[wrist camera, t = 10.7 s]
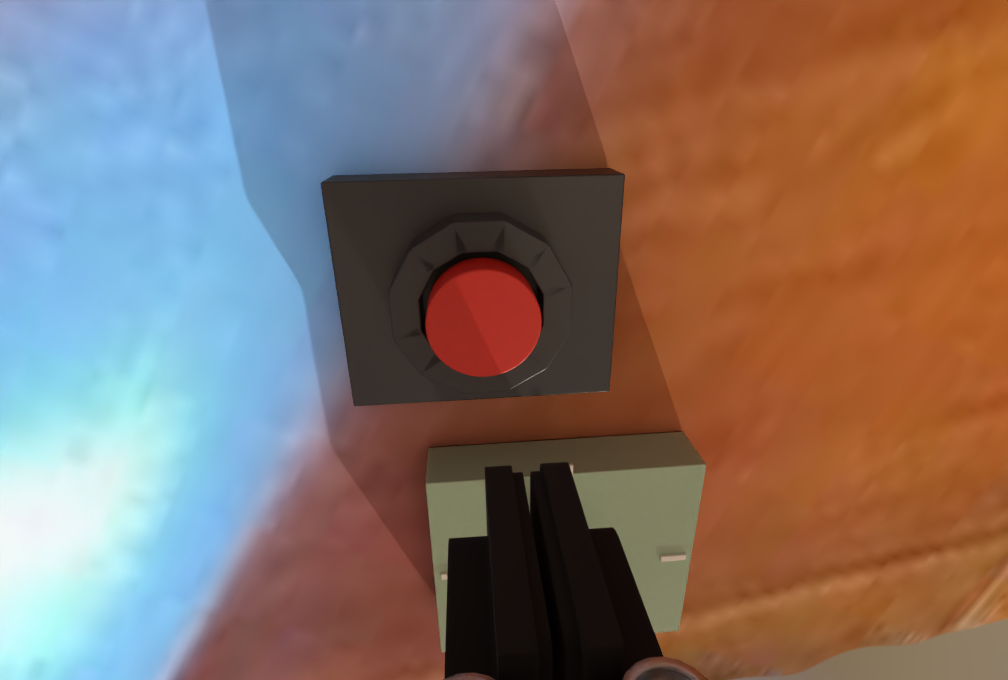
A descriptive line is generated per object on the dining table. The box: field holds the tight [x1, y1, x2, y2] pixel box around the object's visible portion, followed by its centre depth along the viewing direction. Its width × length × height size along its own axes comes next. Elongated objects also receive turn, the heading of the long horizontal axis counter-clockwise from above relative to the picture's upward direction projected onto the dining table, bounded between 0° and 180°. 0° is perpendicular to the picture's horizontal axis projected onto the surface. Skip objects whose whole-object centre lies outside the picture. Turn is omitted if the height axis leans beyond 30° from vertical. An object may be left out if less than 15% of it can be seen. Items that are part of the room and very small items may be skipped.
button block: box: [321, 168, 625, 406], centre depth 23 cm, size 12×10×4 cm
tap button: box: [425, 257, 542, 377], centre depth 21 cm, size 4×4×2 cm
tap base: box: [425, 432, 706, 652], centre depth 30 cm, size 14×13×3 cm
